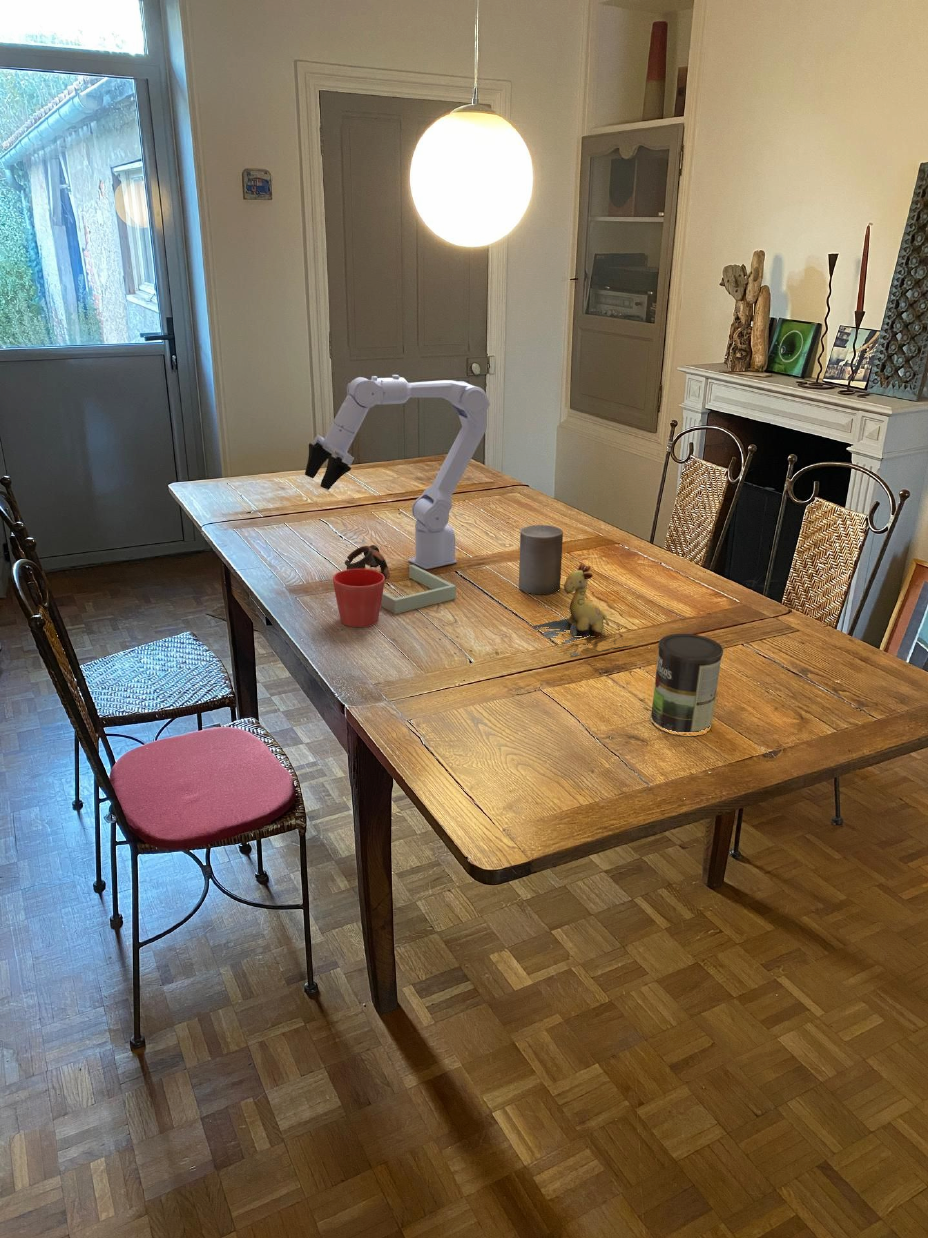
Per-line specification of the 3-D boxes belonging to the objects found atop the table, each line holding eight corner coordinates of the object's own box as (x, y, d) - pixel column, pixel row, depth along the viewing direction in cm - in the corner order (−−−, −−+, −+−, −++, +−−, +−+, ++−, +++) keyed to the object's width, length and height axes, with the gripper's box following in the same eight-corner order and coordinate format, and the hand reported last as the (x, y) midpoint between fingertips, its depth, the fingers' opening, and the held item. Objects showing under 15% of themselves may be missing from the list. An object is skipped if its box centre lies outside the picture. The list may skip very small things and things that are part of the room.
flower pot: (393, 614, 199) (393, 571, 195) (372, 634, 190) (371, 589, 186) (348, 607, 202) (347, 565, 199) (325, 626, 193) (323, 581, 189)
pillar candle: (566, 584, 218) (569, 522, 213) (551, 598, 210) (554, 533, 204) (527, 578, 222) (529, 517, 216) (511, 591, 214) (513, 527, 208)
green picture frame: (413, 576, 221) (413, 564, 220) (455, 598, 209) (455, 585, 207) (354, 590, 212) (353, 577, 211) (394, 613, 200) (394, 600, 199)
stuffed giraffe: (531, 626, 195) (539, 554, 189) (606, 617, 202) (615, 547, 196) (569, 660, 182) (579, 583, 175) (647, 649, 189) (659, 575, 182)
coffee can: (659, 738, 153) (668, 659, 148) (643, 708, 163) (651, 633, 157) (721, 736, 154) (732, 658, 149) (701, 707, 163) (711, 632, 158)
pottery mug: (390, 585, 217) (372, 558, 213) (355, 599, 220) (336, 572, 216) (396, 556, 226) (379, 530, 222) (363, 570, 229) (345, 544, 225)
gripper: (315, 411, 212) (288, 465, 214) (346, 431, 202) (317, 487, 204) (339, 424, 217) (312, 476, 219) (370, 443, 207) (342, 498, 209)
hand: (316, 482), depth 212 cm, fingers open, 7 cm apart
